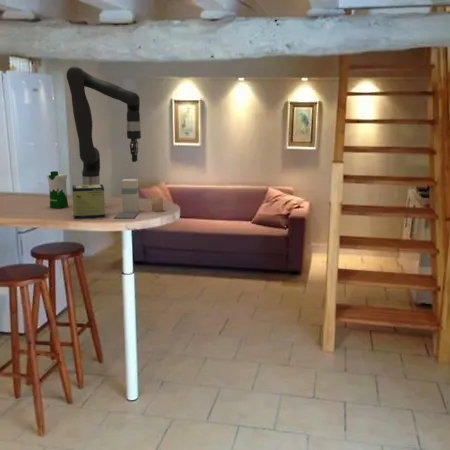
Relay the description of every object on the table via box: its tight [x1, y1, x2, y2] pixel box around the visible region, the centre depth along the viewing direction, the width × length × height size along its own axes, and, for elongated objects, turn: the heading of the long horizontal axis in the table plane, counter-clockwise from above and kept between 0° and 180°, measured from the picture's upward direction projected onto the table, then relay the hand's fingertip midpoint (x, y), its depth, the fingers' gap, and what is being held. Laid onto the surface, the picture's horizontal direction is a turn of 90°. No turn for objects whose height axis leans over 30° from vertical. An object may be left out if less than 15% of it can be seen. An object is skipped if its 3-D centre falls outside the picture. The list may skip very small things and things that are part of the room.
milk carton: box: [46, 170, 69, 209], centre depth 294 cm, size 9×9×20 cm
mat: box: [113, 211, 140, 220], centre depth 273 cm, size 10×14×1 cm
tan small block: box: [151, 196, 164, 213], centre depth 286 cm, size 6×6×7 cm
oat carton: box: [121, 178, 140, 212], centre depth 283 cm, size 8×8×17 cm
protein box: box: [72, 183, 106, 220], centre depth 270 cm, size 10×16×16 cm
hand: (134, 161), depth 295 cm, fingers open, 3 cm apart
